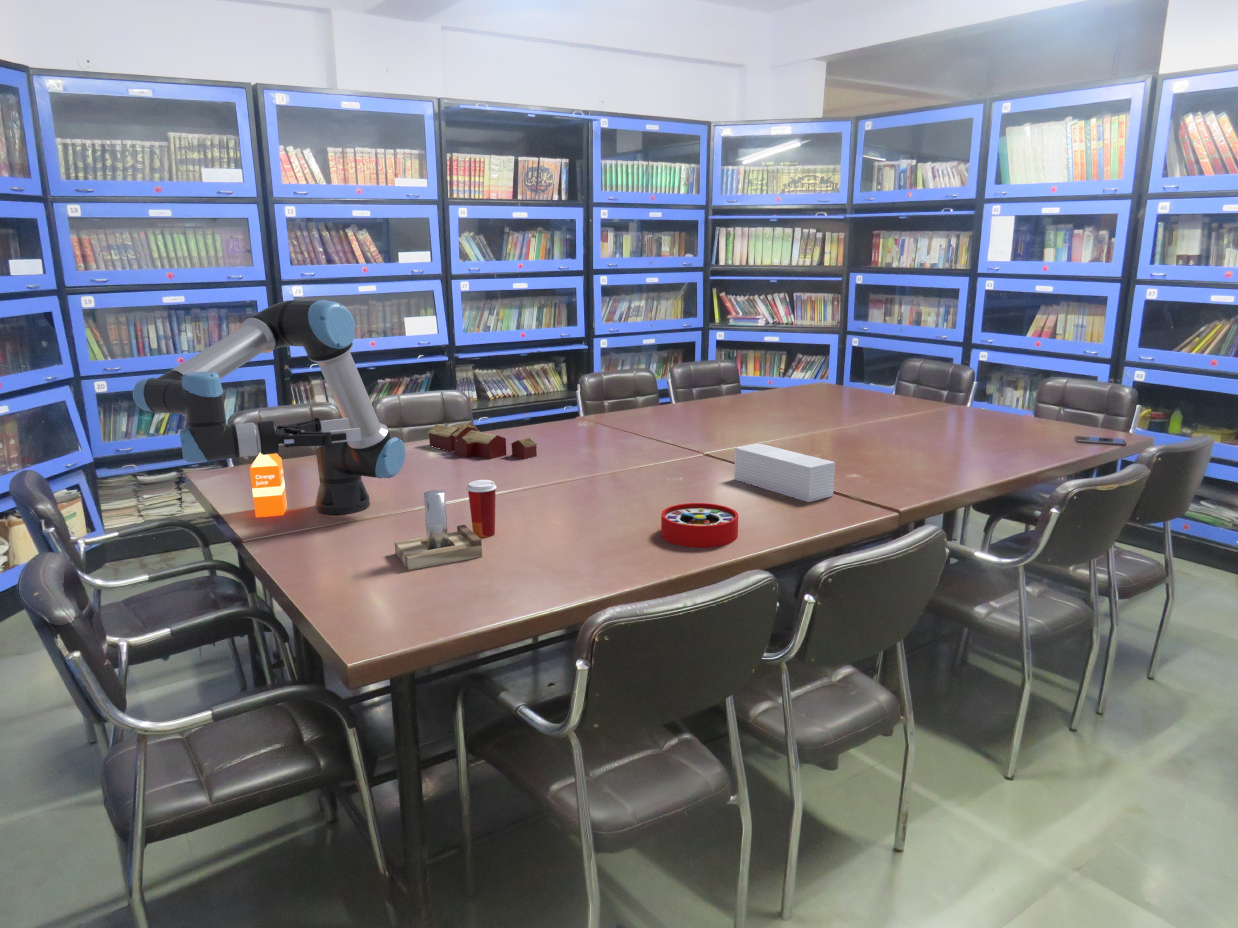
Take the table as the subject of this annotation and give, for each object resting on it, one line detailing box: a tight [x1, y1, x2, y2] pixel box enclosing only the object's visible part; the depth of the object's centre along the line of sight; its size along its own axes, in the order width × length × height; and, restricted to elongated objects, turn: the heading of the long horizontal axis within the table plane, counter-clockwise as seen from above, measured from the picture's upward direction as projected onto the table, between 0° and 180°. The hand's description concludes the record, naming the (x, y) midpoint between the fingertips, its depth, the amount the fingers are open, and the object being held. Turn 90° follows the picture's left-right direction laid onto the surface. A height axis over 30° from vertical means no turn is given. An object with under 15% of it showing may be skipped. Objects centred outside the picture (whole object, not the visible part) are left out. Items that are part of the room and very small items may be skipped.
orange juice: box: [249, 452, 288, 518], centre depth 239 cm, size 8×9×20 cm
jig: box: [394, 524, 483, 571], centre depth 205 cm, size 13×18×4 cm
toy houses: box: [427, 422, 538, 460], centre depth 311 cm, size 45×20×10 cm, turn 49°
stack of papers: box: [733, 443, 836, 503], centre depth 259 cm, size 32×11×11 cm, turn 35°
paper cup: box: [466, 479, 497, 539], centre depth 218 cm, size 8×8×14 cm
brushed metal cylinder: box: [423, 489, 449, 550], centre depth 203 cm, size 5×5×16 cm
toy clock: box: [660, 502, 739, 549], centre depth 217 cm, size 20×6×20 cm
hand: (354, 428), depth 197 cm, fingers open, 13 cm apart
